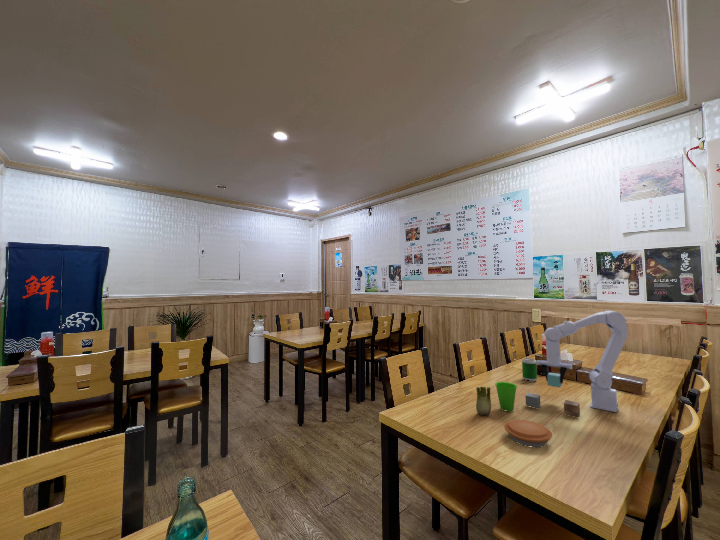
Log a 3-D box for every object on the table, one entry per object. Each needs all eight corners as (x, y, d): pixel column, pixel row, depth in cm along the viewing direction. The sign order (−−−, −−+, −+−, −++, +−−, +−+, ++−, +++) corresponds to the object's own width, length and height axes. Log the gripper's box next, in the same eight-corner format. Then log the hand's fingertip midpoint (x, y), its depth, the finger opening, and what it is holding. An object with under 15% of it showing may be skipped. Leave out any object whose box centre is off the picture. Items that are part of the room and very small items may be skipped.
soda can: (539, 381, 180) (538, 360, 180) (526, 381, 180) (525, 360, 181) (532, 378, 187) (532, 357, 188) (520, 378, 187) (519, 357, 188)
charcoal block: (540, 406, 144) (540, 395, 144) (538, 409, 140) (537, 397, 141) (528, 403, 147) (528, 392, 148) (525, 406, 144) (525, 395, 144)
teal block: (562, 384, 149) (561, 374, 149) (560, 387, 145) (559, 376, 146) (549, 382, 152) (549, 372, 153) (547, 385, 149) (547, 374, 149)
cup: (495, 411, 138) (494, 386, 139) (496, 404, 146) (495, 380, 147) (517, 415, 134) (516, 389, 135) (518, 407, 142) (517, 383, 143)
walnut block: (579, 414, 134) (579, 402, 135) (578, 418, 131) (577, 405, 131) (566, 411, 138) (565, 399, 138) (564, 415, 134) (563, 403, 134)
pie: (510, 426, 124) (509, 413, 124) (556, 438, 114) (555, 424, 114) (499, 441, 112) (498, 427, 112) (549, 456, 102) (548, 440, 102)
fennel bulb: (491, 414, 136) (490, 386, 136) (490, 418, 132) (489, 389, 132) (477, 411, 139) (476, 384, 139) (475, 415, 134) (474, 387, 135)
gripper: (572, 353, 148) (574, 382, 147) (538, 350, 157) (539, 377, 157) (570, 356, 143) (572, 386, 142) (534, 352, 152) (536, 380, 151)
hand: (554, 382), depth 149 cm, fingers closed on teal block, 5 cm apart
